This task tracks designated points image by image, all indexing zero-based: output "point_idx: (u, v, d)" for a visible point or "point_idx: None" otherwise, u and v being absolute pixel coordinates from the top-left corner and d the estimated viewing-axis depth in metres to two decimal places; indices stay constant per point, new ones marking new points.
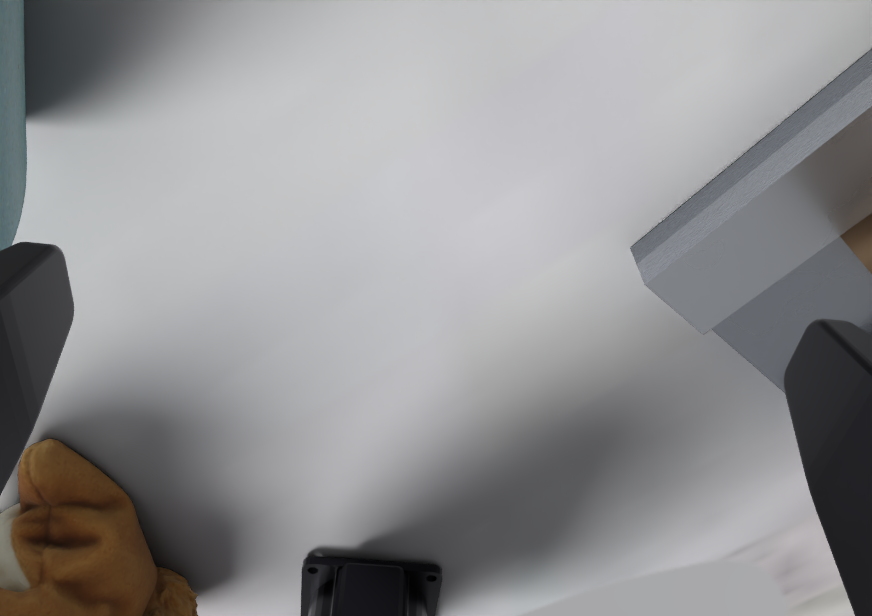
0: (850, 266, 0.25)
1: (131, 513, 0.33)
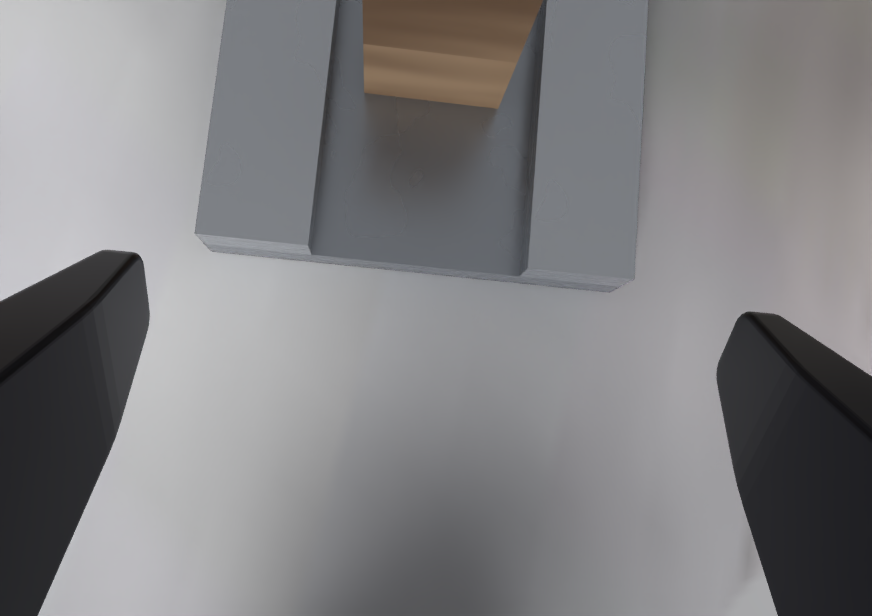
0: (407, 110, 0.23)
1: None
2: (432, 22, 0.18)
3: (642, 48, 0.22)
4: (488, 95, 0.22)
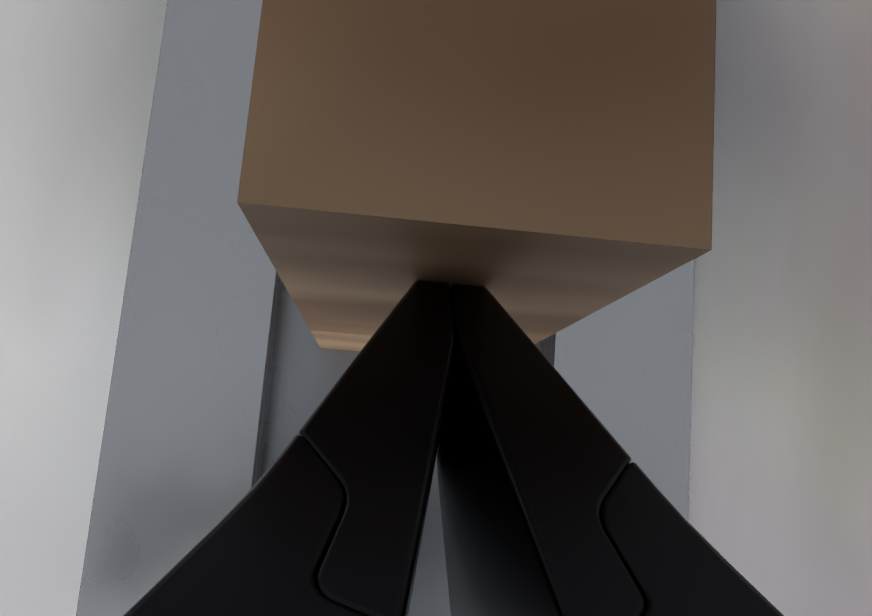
0: None
1: None
2: None
3: (687, 354, 0.17)
4: None
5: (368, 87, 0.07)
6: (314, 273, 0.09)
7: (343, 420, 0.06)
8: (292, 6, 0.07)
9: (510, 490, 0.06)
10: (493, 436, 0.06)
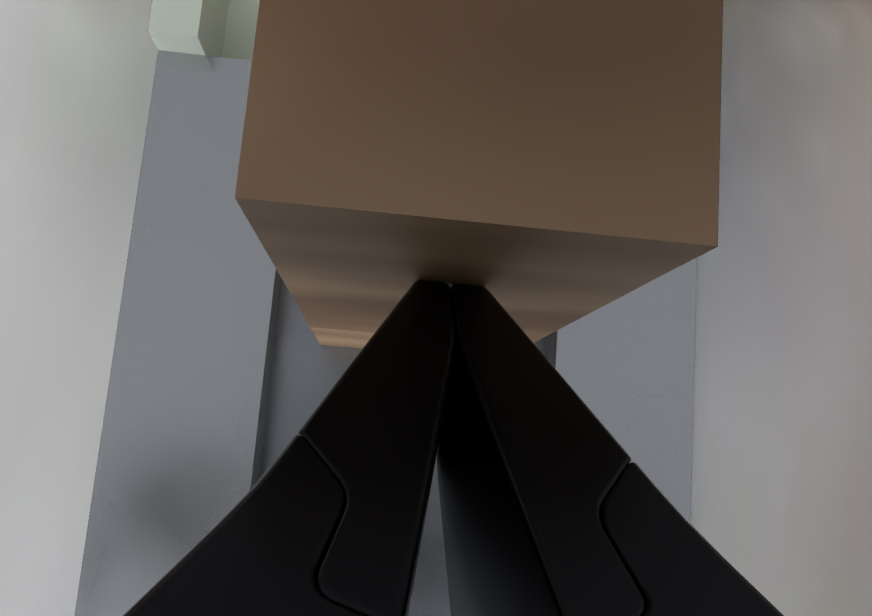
0: None
1: None
2: None
3: None
4: None
5: (368, 79, 0.06)
6: (314, 270, 0.09)
7: (343, 420, 0.06)
8: None
9: (510, 490, 0.06)
10: (493, 436, 0.06)
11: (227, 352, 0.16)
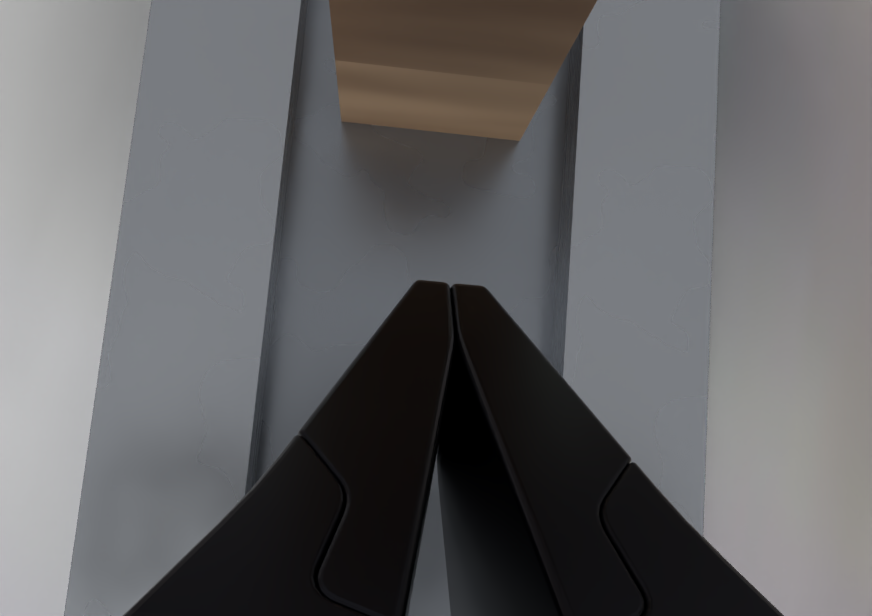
0: None
1: None
2: (432, 30, 0.13)
3: (701, 417, 0.16)
4: (507, 124, 0.16)
5: None
6: None
7: (343, 420, 0.06)
8: None
9: (510, 490, 0.06)
10: (493, 436, 0.06)
11: (249, 114, 0.16)
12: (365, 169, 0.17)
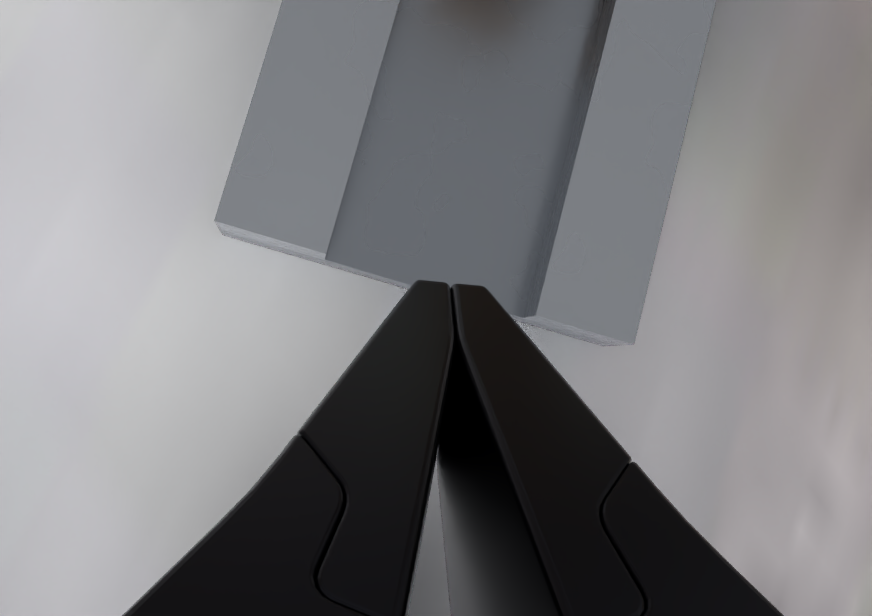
0: (445, 132, 0.23)
1: None
2: None
3: (684, 119, 0.23)
4: None
5: None
6: None
7: (343, 420, 0.06)
8: None
9: (510, 490, 0.06)
10: (493, 436, 0.06)
11: None
12: None
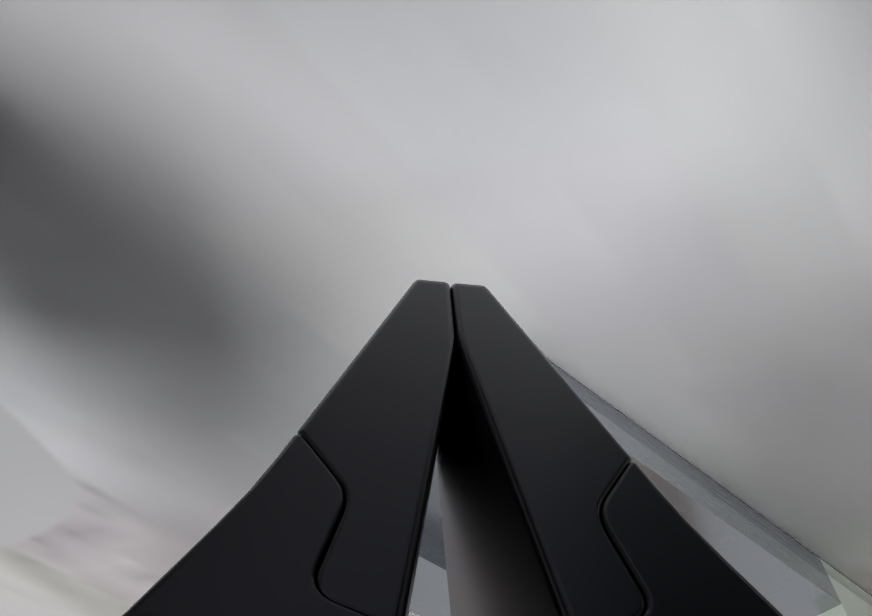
0: None
1: None
2: None
3: None
4: None
5: None
6: None
7: (343, 420, 0.06)
8: None
9: (510, 490, 0.06)
10: (493, 436, 0.06)
11: None
12: None
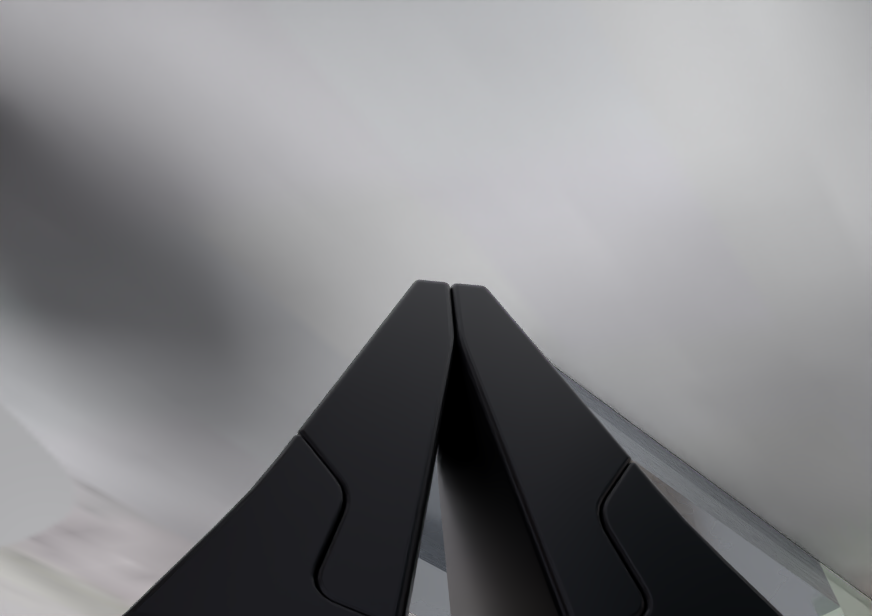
0: None
1: None
2: None
3: None
4: None
5: None
6: None
7: (343, 420, 0.06)
8: None
9: (510, 490, 0.06)
10: (493, 436, 0.06)
11: None
12: None
